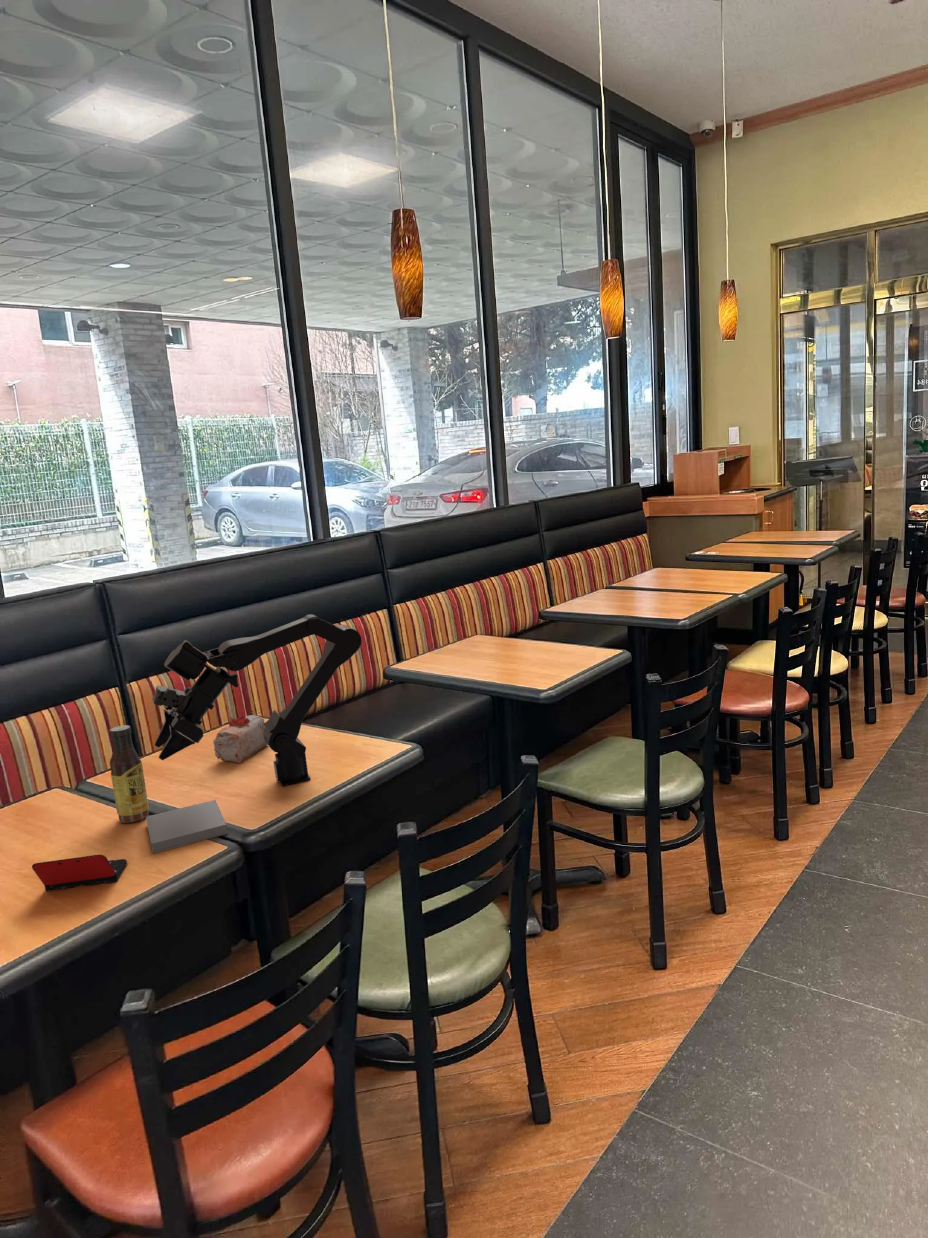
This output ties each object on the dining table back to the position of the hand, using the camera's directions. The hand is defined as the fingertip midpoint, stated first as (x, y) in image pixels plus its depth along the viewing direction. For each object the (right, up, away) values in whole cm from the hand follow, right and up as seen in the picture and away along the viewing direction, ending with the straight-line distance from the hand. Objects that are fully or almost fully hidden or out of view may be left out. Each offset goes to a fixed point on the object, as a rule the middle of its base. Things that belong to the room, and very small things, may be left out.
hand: (158, 752), depth 175 cm
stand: (+9, -14, -8) cm, 18 cm away
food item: (+9, -6, +32) cm, 34 cm away
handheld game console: (-4, -20, -26) cm, 32 cm away
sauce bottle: (-5, -14, 0) cm, 15 cm away
